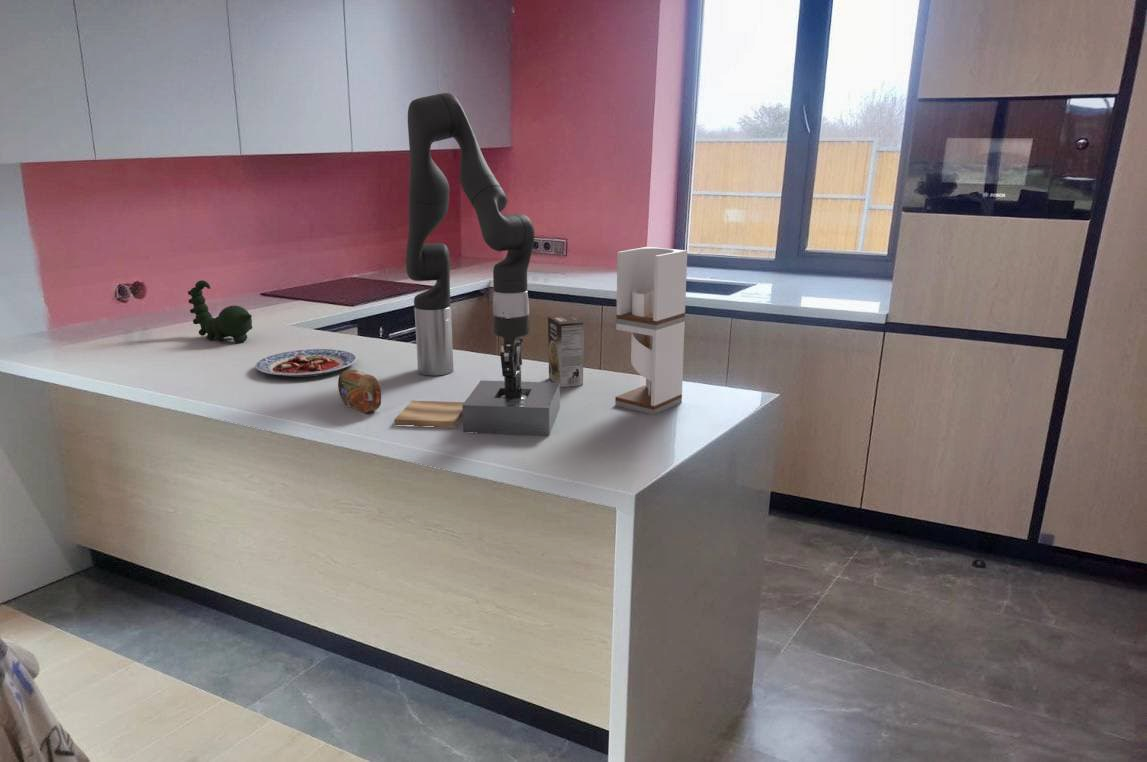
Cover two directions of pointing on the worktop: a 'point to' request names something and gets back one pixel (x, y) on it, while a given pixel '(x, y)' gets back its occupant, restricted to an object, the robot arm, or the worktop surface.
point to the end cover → (518, 393)
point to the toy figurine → (219, 318)
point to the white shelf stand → (653, 323)
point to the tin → (359, 390)
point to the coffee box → (565, 350)
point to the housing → (512, 409)
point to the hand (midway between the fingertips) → (513, 390)
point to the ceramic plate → (306, 362)
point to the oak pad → (431, 414)
